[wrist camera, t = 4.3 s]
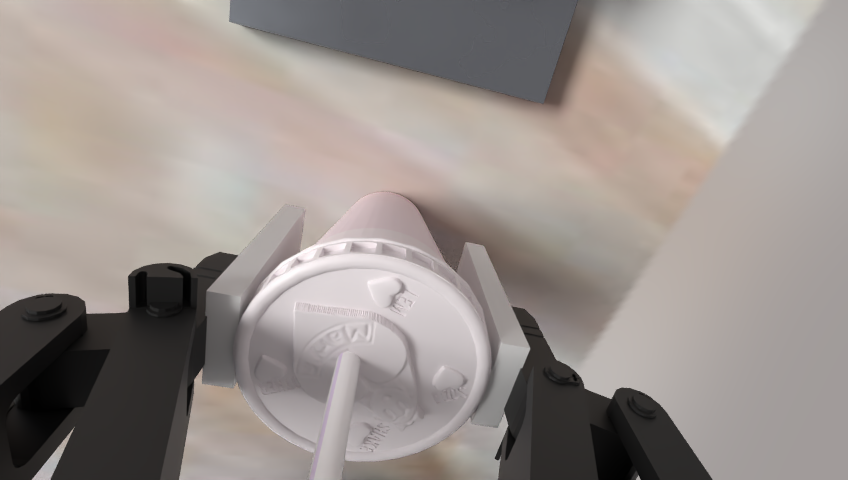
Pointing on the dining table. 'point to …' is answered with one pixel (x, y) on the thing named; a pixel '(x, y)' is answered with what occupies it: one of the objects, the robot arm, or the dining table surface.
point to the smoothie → (364, 342)
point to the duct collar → (431, 35)
